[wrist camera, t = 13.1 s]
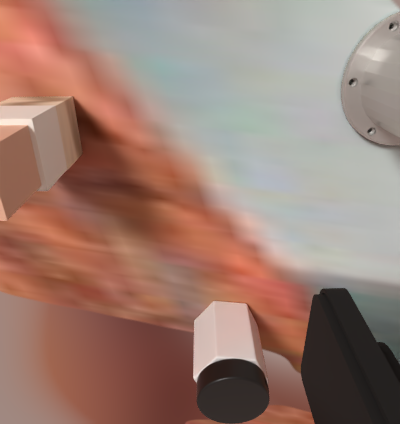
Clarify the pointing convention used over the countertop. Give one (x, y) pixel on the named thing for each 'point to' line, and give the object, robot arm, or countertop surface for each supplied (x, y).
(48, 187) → the middle block
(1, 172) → the top block
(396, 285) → the countertop surface
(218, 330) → the jar
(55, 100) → the base block
